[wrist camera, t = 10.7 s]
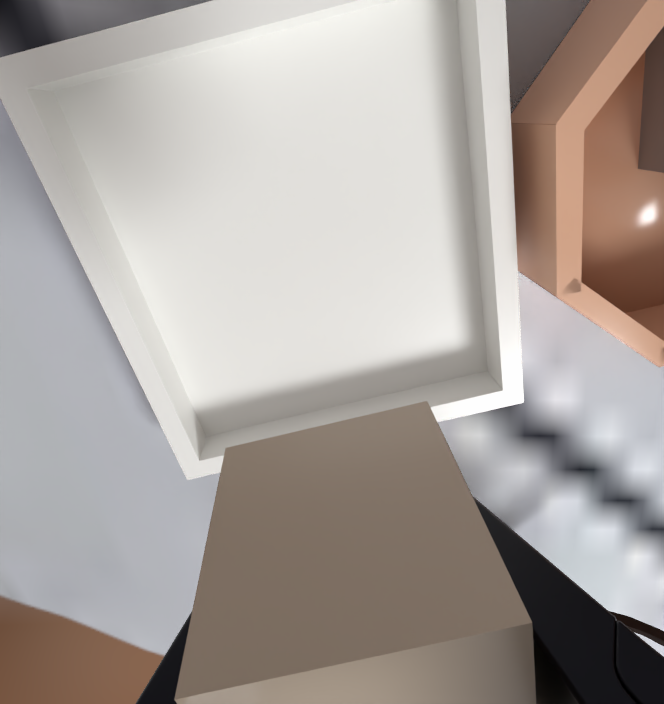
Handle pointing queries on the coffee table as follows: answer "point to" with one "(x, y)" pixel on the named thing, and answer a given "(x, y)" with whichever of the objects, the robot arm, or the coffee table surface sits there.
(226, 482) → the taupe block
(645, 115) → the grey block
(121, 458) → the coffee table surface
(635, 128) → the terracotta bowl
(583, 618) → the robot arm
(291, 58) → the tray
